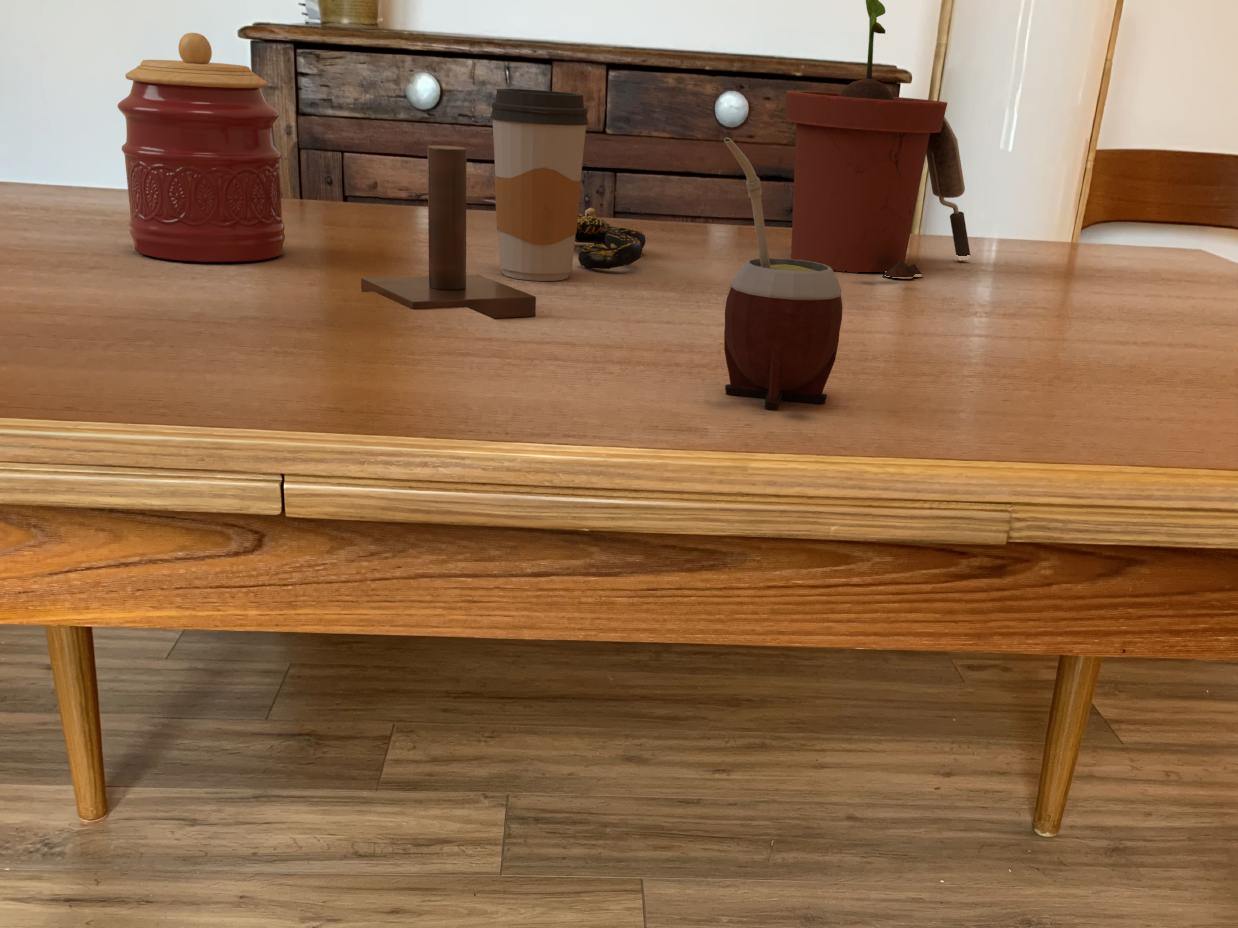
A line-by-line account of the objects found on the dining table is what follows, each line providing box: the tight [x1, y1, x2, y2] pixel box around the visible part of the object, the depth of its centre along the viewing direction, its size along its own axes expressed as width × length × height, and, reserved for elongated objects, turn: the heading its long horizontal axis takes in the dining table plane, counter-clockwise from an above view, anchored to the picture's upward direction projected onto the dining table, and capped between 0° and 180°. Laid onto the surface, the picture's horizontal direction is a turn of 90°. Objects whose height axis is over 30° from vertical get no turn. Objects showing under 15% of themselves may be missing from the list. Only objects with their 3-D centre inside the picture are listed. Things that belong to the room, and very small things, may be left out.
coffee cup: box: [490, 88, 589, 282], centre depth 116 cm, size 8×8×15 cm
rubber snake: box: [575, 207, 646, 270], centre depth 130 cm, size 18×5×10 cm
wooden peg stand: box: [360, 145, 537, 319], centre depth 101 cm, size 10×10×12 cm
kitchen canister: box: [117, 32, 286, 263], centre depth 115 cm, size 13×13×18 cm
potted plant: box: [785, 0, 971, 280], centre depth 133 cm, size 18×22×25 cm
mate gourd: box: [723, 136, 843, 411], centre depth 80 cm, size 8×8×15 cm
